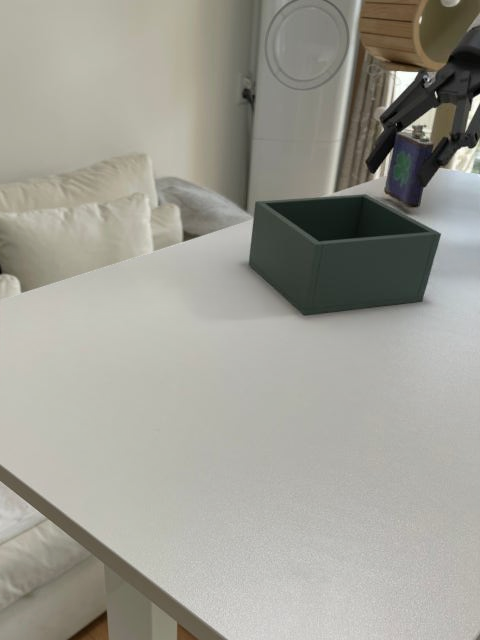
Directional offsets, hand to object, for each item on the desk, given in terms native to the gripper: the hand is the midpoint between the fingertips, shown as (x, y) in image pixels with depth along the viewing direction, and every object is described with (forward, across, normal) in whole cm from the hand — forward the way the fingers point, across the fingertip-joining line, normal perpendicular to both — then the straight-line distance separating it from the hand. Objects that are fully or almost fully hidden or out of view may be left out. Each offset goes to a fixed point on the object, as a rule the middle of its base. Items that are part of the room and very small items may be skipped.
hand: (394, 174), depth 97 cm
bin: (+25, +14, -17) cm, 33 cm away
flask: (+1, 0, +5) cm, 5 cm away
